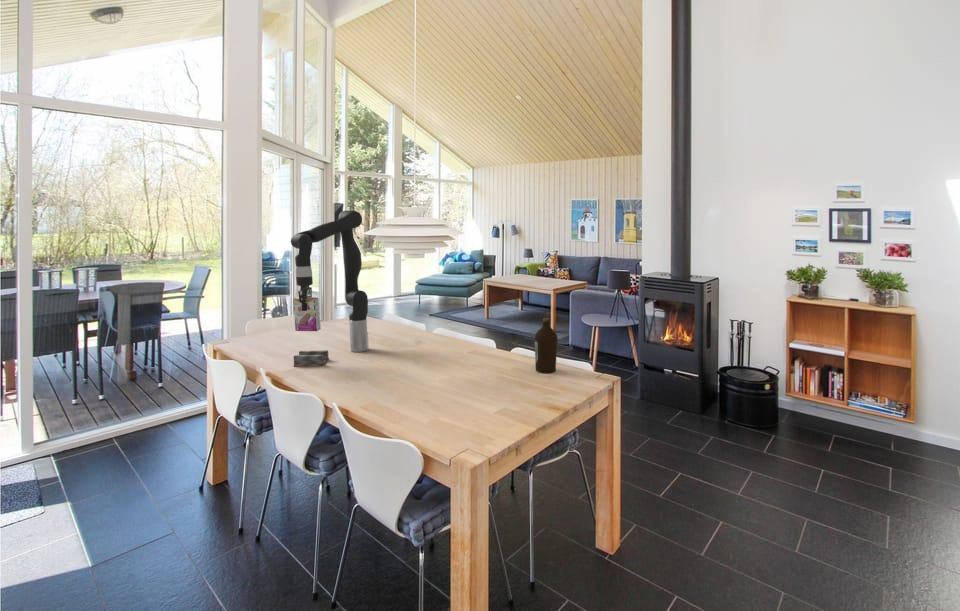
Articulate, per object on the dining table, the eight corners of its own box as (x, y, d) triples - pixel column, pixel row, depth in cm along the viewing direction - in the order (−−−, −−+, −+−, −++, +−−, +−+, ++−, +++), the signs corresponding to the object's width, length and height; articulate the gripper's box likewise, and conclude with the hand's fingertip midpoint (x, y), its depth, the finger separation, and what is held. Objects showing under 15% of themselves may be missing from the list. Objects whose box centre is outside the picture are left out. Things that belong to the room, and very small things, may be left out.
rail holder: (329, 359, 256) (328, 350, 255) (322, 366, 244) (322, 356, 243) (301, 360, 255) (300, 350, 254) (293, 366, 243) (293, 356, 243)
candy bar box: (295, 331, 246) (292, 298, 243) (299, 329, 251) (297, 296, 248) (316, 331, 244) (314, 298, 242) (321, 329, 249) (318, 296, 247)
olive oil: (556, 367, 240) (557, 316, 236) (557, 374, 229) (558, 320, 225) (534, 366, 241) (535, 316, 237) (533, 373, 231) (534, 320, 227)
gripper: (307, 277, 236) (310, 312, 239) (316, 273, 250) (318, 307, 253) (291, 277, 236) (294, 312, 239) (300, 273, 250) (303, 307, 253)
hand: (306, 309), depth 246 cm, fingers closed on candy bar box, 5 cm apart
